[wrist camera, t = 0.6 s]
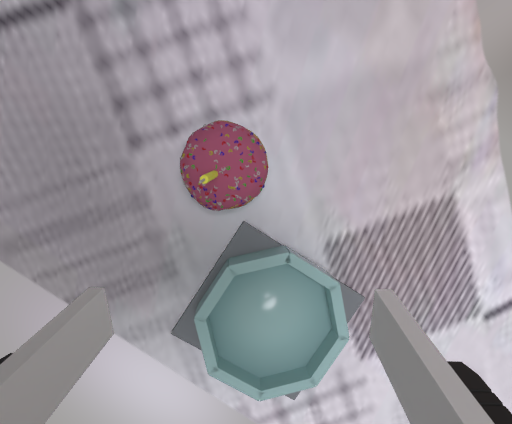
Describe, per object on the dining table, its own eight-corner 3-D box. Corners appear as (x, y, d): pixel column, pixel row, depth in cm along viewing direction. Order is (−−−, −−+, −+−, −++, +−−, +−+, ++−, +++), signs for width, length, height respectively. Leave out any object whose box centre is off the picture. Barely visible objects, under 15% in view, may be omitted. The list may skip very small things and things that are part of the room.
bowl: (250, 223, 31) (252, 228, 28) (361, 293, 33) (373, 304, 30) (175, 338, 32) (170, 354, 29) (288, 398, 34) (293, 419, 31)
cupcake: (226, 220, 31) (222, 246, 19) (171, 168, 30) (131, 161, 18) (278, 168, 31) (306, 160, 19) (225, 113, 30) (219, 69, 18)
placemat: (243, 220, 31) (243, 221, 31) (363, 296, 34) (365, 297, 33) (171, 331, 32) (170, 333, 32) (293, 397, 35) (294, 400, 34)
